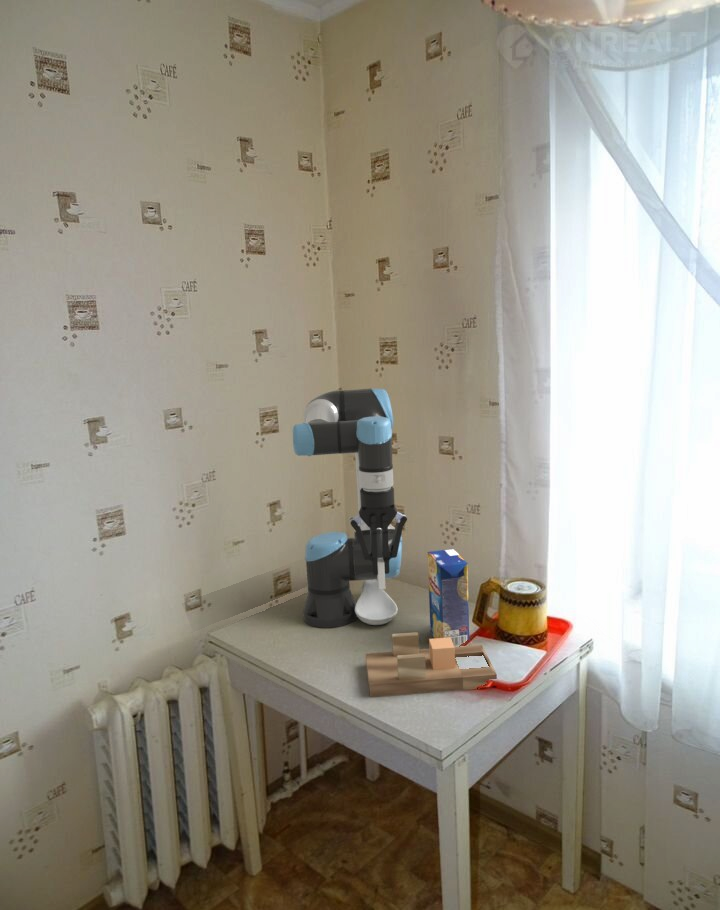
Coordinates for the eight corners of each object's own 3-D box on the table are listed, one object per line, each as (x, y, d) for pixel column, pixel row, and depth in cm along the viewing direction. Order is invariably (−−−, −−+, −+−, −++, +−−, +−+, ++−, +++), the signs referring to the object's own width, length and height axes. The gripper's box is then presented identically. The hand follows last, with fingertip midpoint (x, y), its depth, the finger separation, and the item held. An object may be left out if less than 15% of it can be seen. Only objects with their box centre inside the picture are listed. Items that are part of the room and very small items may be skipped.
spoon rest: (401, 628, 180) (400, 603, 178) (358, 633, 178) (356, 607, 177) (386, 594, 203) (385, 571, 202) (348, 598, 202) (346, 575, 200)
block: (429, 658, 156) (429, 638, 155) (451, 657, 156) (450, 637, 155) (433, 669, 151) (432, 649, 150) (455, 668, 152) (454, 647, 151)
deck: (366, 665, 161) (364, 634, 159) (481, 656, 162) (481, 625, 161) (370, 697, 147) (368, 663, 146) (496, 686, 148) (496, 653, 147)
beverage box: (455, 628, 178) (453, 548, 173) (469, 647, 167) (467, 563, 163) (430, 631, 176) (427, 551, 172) (443, 651, 166) (440, 566, 162)
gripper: (348, 494, 144) (354, 596, 150) (408, 489, 145) (412, 591, 151) (346, 485, 152) (351, 582, 157) (403, 480, 153) (407, 577, 158)
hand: (381, 586), depth 154 cm, fingers closed
